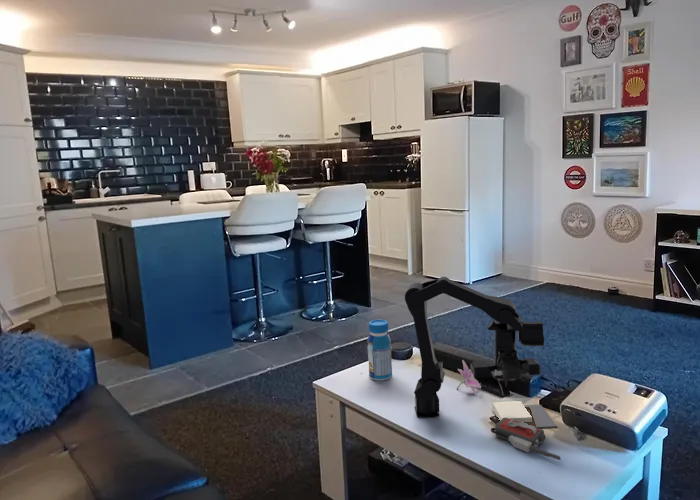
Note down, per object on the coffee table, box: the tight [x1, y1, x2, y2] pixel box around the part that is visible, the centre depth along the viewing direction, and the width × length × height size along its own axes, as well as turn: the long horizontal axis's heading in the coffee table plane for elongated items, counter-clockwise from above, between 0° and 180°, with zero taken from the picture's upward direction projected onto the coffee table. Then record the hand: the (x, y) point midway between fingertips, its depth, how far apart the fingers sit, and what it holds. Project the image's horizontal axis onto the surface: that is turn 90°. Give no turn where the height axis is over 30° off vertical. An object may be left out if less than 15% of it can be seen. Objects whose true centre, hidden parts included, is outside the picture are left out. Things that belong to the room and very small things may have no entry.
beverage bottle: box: [366, 319, 393, 382], centre depth 188 cm, size 8×8×20 cm
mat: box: [523, 404, 558, 429], centre depth 156 cm, size 14×13×1 cm
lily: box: [456, 359, 482, 396], centre depth 174 cm, size 11×11×9 cm
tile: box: [491, 400, 532, 422], centre depth 156 cm, size 2×10×8 cm
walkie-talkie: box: [490, 418, 562, 460], centre depth 141 cm, size 9×4×20 cm
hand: (505, 395), depth 155 cm, fingers closed
